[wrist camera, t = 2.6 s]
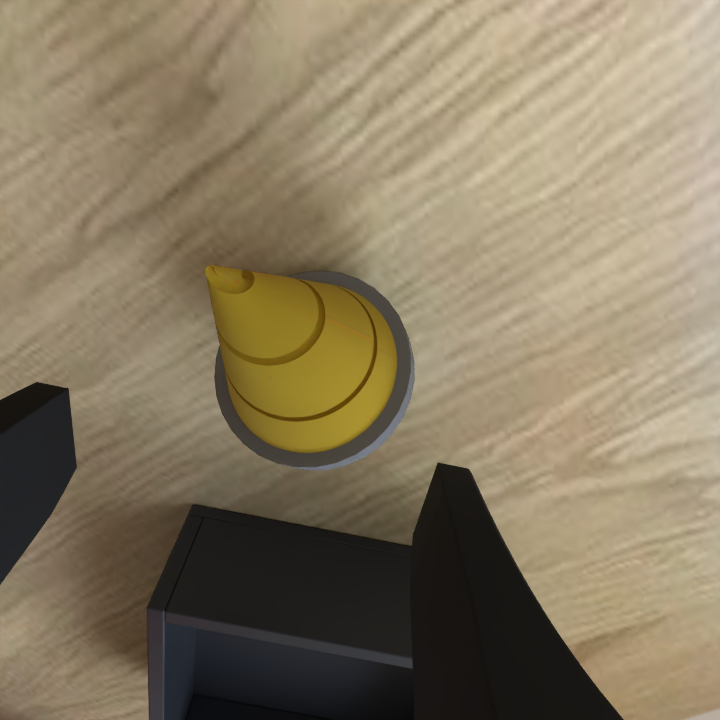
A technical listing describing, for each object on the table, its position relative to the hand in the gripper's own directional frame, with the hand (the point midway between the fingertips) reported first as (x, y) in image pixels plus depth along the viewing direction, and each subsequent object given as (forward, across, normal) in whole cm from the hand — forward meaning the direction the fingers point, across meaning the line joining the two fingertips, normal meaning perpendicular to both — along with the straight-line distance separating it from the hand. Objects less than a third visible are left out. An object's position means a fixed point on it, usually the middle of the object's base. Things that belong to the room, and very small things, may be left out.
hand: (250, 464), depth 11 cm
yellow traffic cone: (+7, 0, 0) cm, 7 cm away
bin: (+7, -3, +16) cm, 18 cm away
